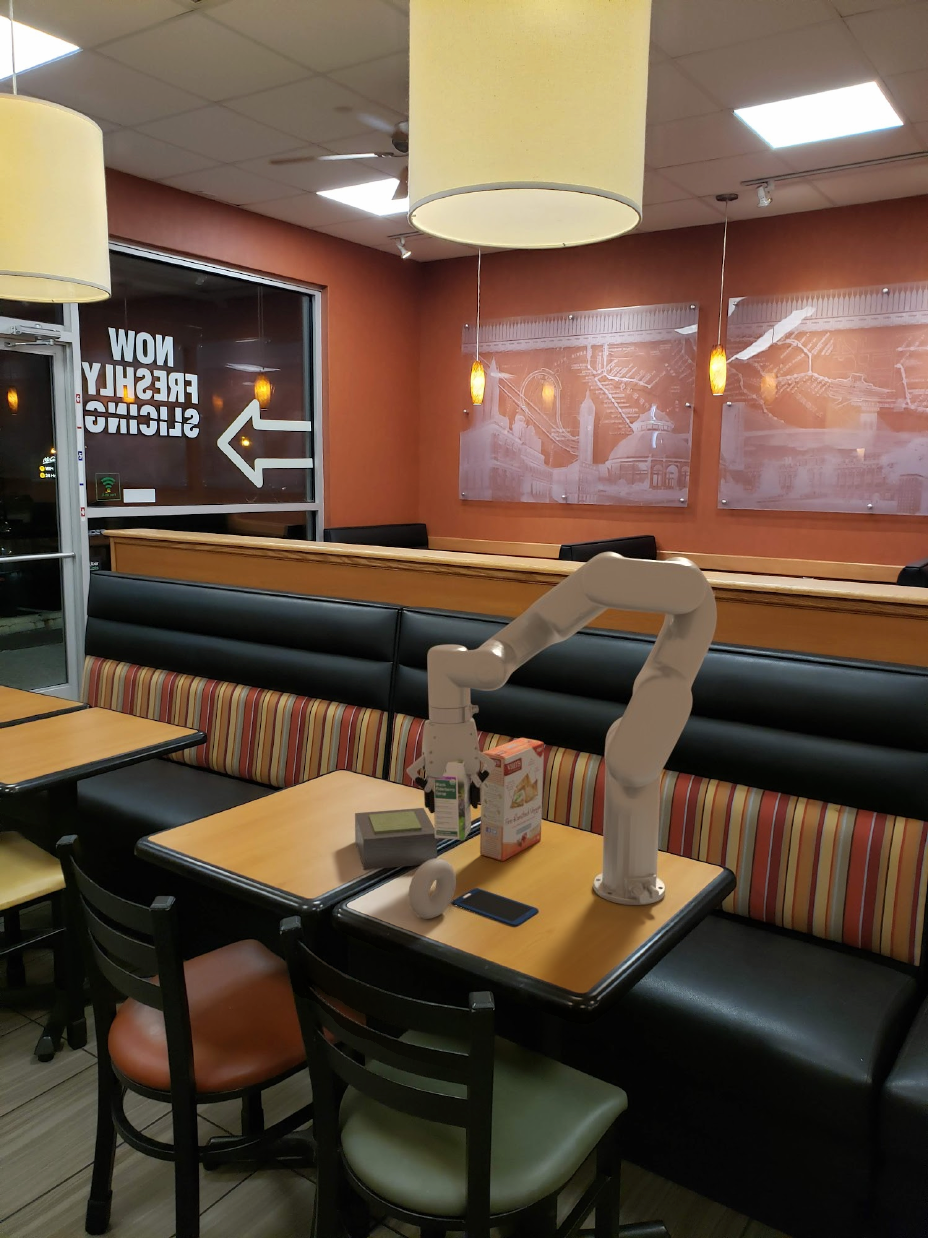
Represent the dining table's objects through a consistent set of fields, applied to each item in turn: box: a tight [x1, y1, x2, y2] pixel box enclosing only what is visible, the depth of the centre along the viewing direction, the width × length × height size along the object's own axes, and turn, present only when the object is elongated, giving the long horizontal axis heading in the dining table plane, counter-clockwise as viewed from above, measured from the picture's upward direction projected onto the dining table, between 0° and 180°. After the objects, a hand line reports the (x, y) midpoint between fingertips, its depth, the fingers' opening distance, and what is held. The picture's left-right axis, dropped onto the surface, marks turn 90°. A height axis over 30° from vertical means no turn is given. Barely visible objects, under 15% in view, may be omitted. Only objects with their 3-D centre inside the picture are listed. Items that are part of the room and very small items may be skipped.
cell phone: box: [450, 887, 539, 928], centre depth 155 cm, size 7×14×1 cm, turn 52°
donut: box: [408, 857, 457, 920], centre depth 150 cm, size 10×4×10 cm, turn 139°
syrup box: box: [432, 760, 472, 841], centre depth 165 cm, size 6×6×14 cm
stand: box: [354, 807, 438, 871], centre depth 177 cm, size 14×14×6 cm
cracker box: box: [479, 737, 545, 862], centre depth 178 cm, size 14×6×21 cm, turn 143°
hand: (452, 808), depth 165 cm, fingers closed on syrup box, 7 cm apart
